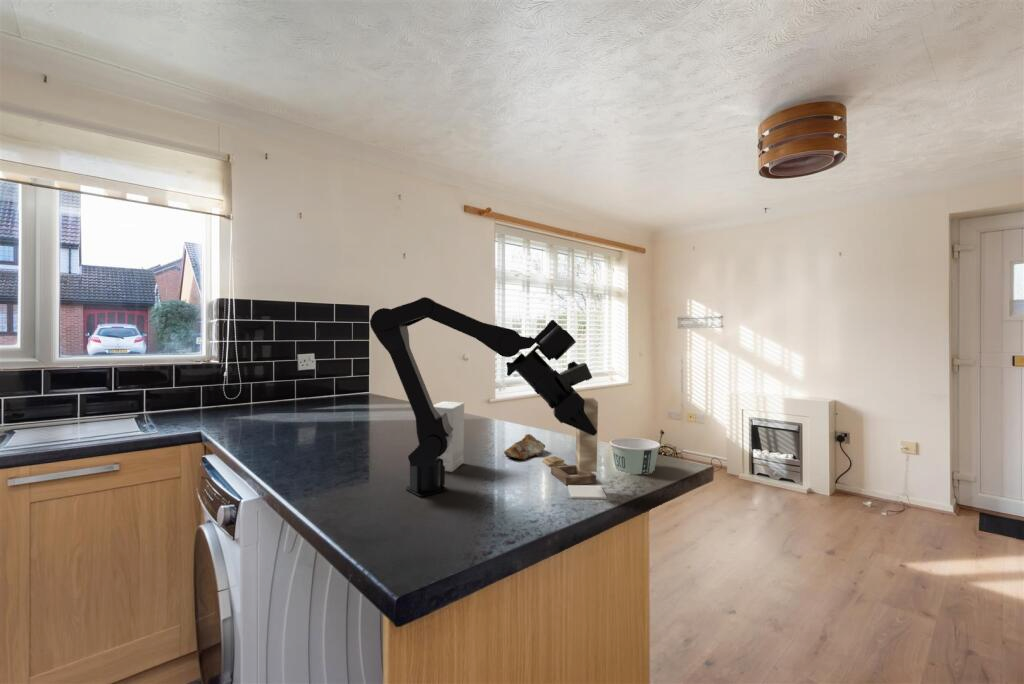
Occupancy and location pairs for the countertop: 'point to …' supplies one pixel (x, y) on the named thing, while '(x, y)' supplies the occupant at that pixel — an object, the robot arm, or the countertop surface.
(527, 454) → the decorative stone
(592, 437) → the tan wooden block
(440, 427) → the robot arm
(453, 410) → the skincare box
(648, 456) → the food container
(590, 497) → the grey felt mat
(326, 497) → the countertop surface
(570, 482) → the walnut rack
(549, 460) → the oak offcuts
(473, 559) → the countertop surface
